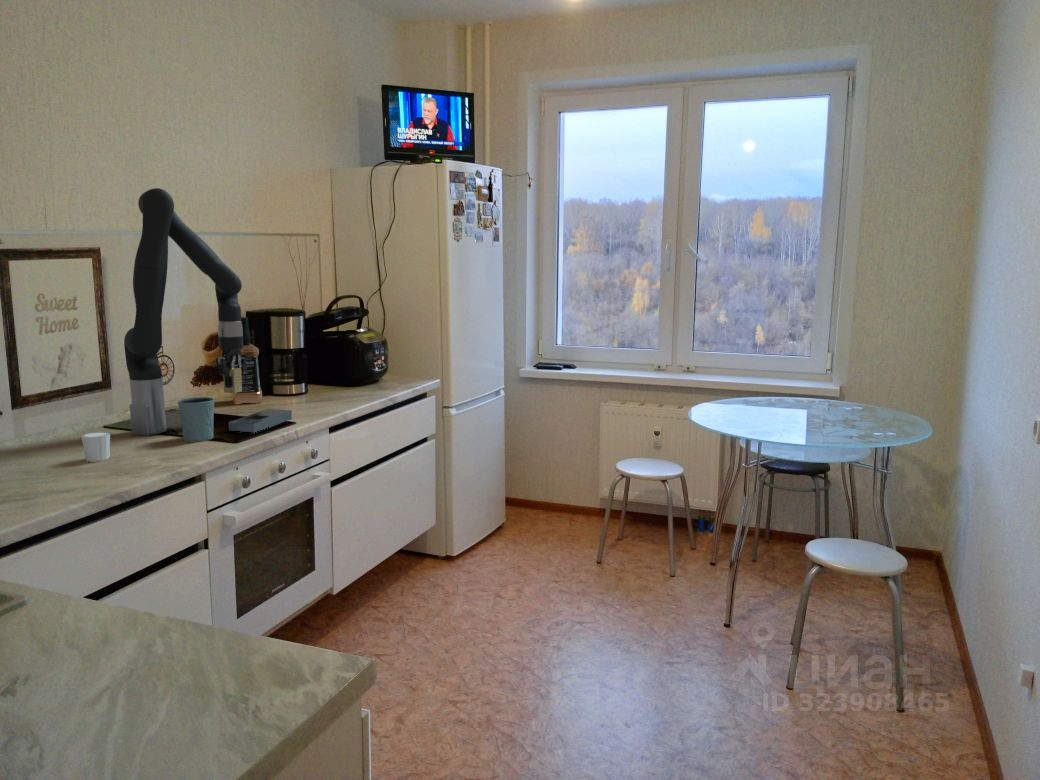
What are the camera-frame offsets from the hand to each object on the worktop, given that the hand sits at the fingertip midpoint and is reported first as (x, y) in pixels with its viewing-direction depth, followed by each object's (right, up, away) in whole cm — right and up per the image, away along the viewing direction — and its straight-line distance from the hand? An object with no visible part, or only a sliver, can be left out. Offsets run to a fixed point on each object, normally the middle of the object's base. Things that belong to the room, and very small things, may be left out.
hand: (233, 386), depth 257 cm
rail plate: (+10, -13, -2) cm, 17 cm away
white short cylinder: (-21, -20, -44) cm, 53 cm away
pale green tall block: (0, -2, 0) cm, 2 cm away
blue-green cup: (-3, -16, -20) cm, 26 cm away
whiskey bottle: (-8, -6, +37) cm, 38 cm away
